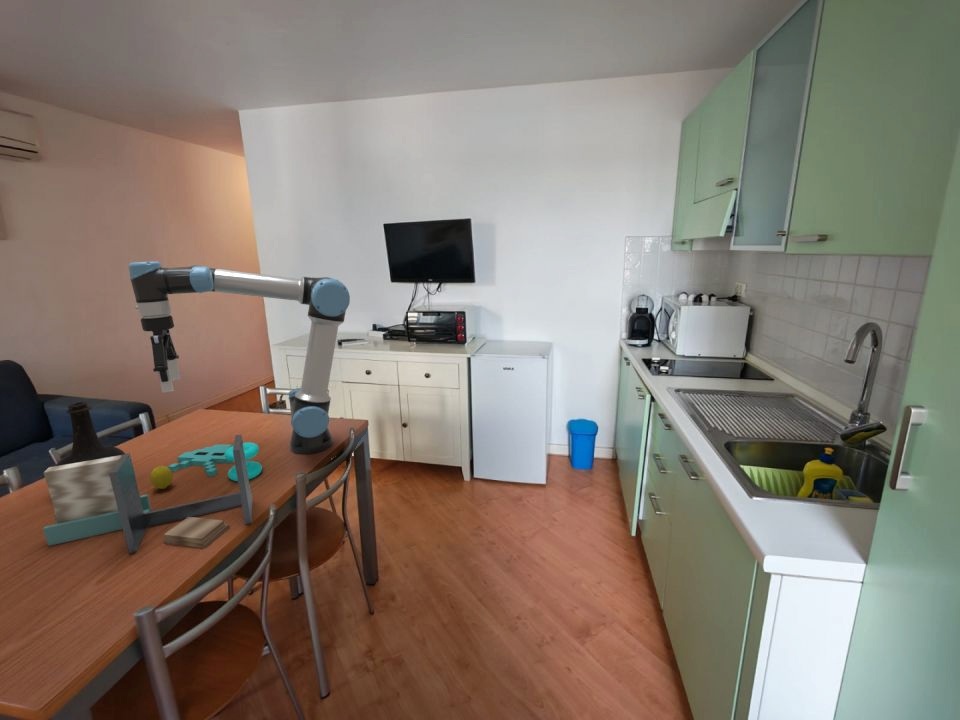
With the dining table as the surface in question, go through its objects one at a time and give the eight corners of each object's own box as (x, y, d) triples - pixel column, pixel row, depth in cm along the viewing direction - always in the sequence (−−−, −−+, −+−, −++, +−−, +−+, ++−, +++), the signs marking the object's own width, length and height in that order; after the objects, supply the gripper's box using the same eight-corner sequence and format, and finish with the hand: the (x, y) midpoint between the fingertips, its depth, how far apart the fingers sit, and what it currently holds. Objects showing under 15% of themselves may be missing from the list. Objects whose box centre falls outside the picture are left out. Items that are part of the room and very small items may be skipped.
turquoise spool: (251, 438, 148) (263, 446, 141) (255, 464, 151) (267, 474, 144) (219, 448, 141) (230, 457, 134) (224, 475, 143) (235, 486, 137)
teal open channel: (151, 509, 125) (147, 494, 124) (144, 524, 118) (140, 508, 117) (61, 528, 116) (56, 512, 115) (48, 546, 110) (43, 528, 108)
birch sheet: (139, 512, 122) (126, 454, 117) (137, 518, 119) (123, 458, 115) (66, 528, 115) (48, 467, 111) (61, 534, 112) (43, 472, 108)
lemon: (178, 485, 137) (174, 463, 135) (161, 494, 132) (156, 471, 130) (166, 483, 139) (161, 460, 137) (148, 491, 134) (143, 468, 132)
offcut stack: (230, 529, 116) (228, 519, 115) (205, 550, 108) (203, 539, 107) (191, 524, 118) (189, 515, 117) (164, 545, 110) (162, 535, 109)
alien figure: (213, 477, 143) (250, 450, 163) (212, 471, 143) (249, 445, 162) (158, 475, 145) (200, 449, 164) (156, 469, 145) (199, 443, 164)
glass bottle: (42, 505, 127) (16, 417, 121) (81, 476, 144) (60, 397, 138) (112, 497, 131) (91, 411, 125) (142, 469, 148) (125, 392, 141)
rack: (252, 501, 128) (241, 433, 123) (251, 523, 118) (239, 449, 112) (141, 526, 117) (123, 452, 111) (128, 553, 106) (108, 473, 101)
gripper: (149, 312, 134) (164, 377, 139) (129, 323, 112) (148, 399, 118) (177, 310, 137) (191, 373, 143) (164, 320, 116) (180, 394, 121)
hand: (172, 385), depth 130 cm, fingers open, 13 cm apart
